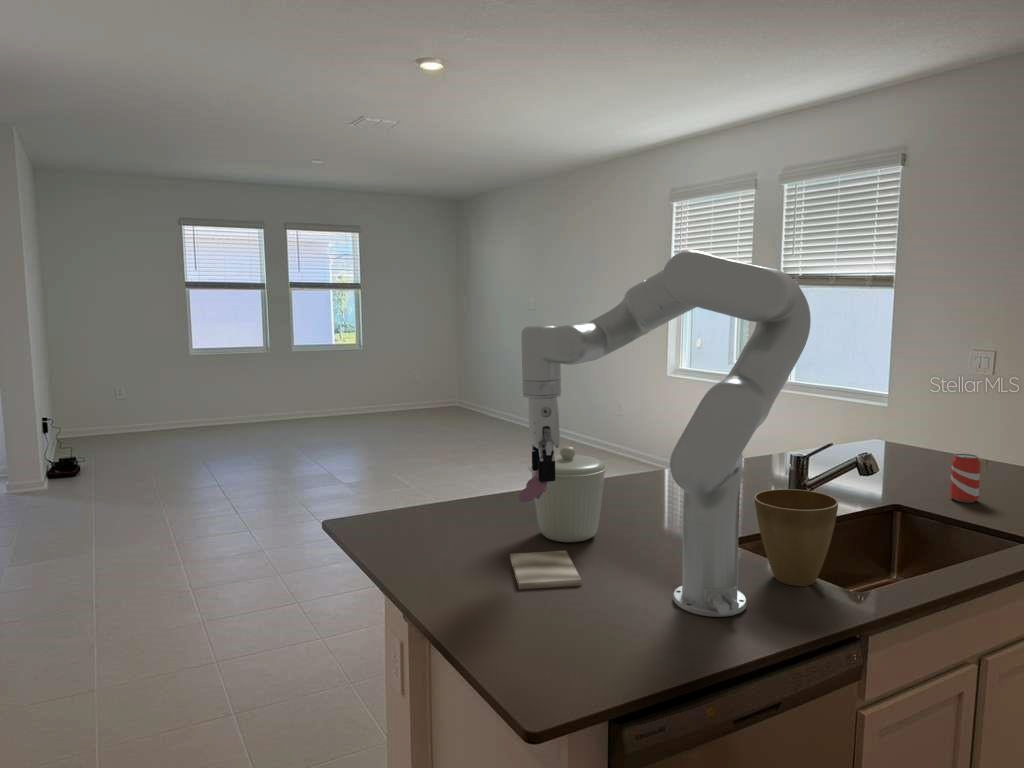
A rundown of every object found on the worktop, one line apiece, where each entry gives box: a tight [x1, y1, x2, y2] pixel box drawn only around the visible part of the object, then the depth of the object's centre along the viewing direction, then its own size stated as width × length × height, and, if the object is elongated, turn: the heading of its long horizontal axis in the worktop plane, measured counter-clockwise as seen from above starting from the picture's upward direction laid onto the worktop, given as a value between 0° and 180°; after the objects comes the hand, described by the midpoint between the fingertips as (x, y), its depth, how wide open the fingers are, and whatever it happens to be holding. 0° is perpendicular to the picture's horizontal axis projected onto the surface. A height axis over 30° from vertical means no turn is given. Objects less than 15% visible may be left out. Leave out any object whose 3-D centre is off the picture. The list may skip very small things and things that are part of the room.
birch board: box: [509, 550, 582, 590], centre depth 142 cm, size 16×12×1 cm
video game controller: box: [518, 470, 549, 503], centre depth 140 cm, size 10×5×7 cm, turn 169°
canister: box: [528, 445, 608, 543], centre depth 163 cm, size 18×18×21 cm
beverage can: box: [949, 453, 982, 504], centre depth 186 cm, size 6×6×12 cm
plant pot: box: [754, 488, 839, 587], centre depth 136 cm, size 15×15×16 cm
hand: (543, 475), depth 140 cm, fingers closed on video game controller, 8 cm apart
